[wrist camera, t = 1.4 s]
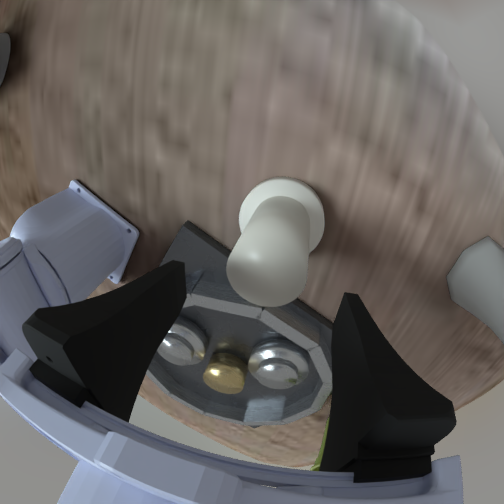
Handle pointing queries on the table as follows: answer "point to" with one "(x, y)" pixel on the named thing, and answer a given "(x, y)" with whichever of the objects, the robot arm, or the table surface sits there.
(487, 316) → the flask
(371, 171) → the table surface
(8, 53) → the coffee mug
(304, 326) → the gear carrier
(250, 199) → the white mushroom peg
